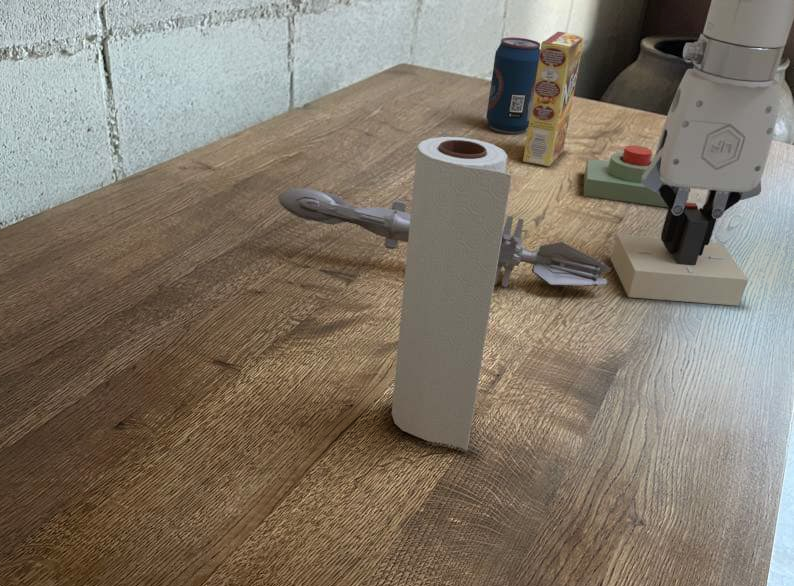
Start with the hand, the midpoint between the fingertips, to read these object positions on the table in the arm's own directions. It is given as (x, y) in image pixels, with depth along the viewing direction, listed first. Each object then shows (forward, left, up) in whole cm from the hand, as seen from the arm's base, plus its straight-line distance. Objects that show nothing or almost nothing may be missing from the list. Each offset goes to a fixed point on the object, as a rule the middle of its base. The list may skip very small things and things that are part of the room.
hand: (682, 248), depth 98 cm
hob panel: (0, 0, -4) cm, 4 cm away
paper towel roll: (+22, +37, -4) cm, 43 cm away
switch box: (+4, -29, -4) cm, 29 cm away
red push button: (+4, -29, 0) cm, 29 cm away
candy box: (+16, -39, -4) cm, 42 cm away
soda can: (+22, -51, -4) cm, 56 cm away
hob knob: (0, 0, -1) cm, 1 cm away
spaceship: (+25, +7, -4) cm, 26 cm away
